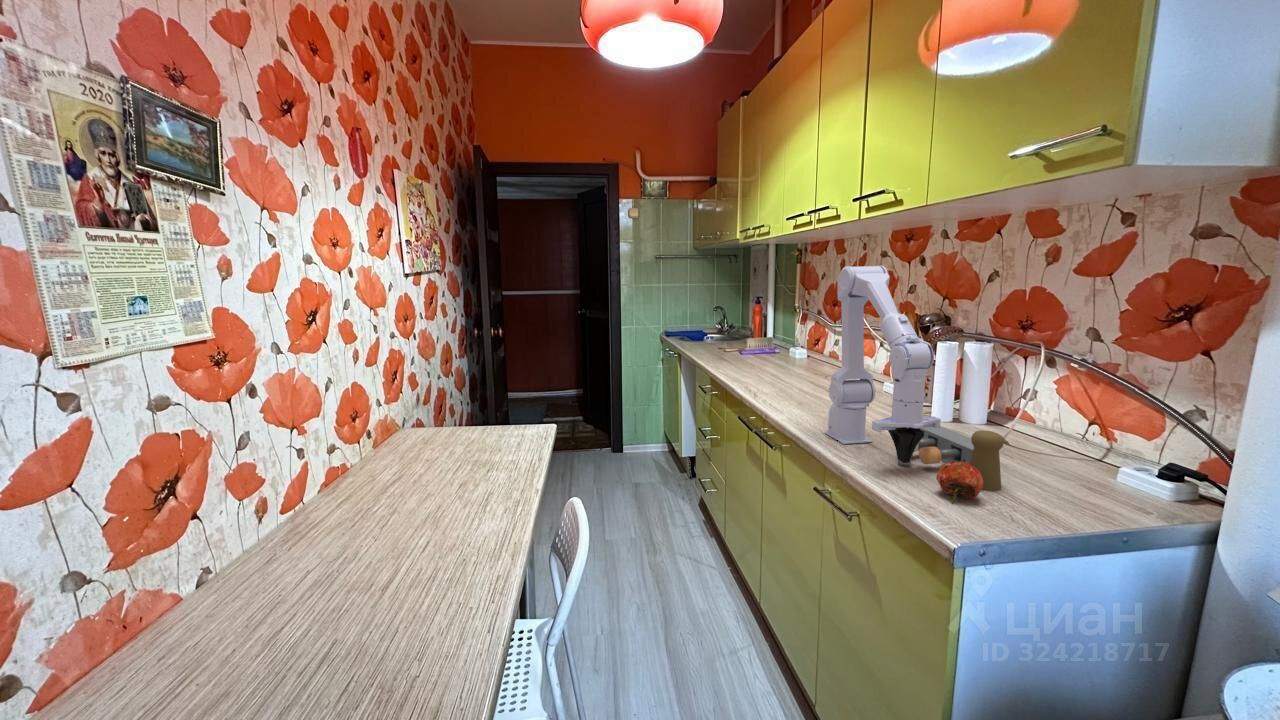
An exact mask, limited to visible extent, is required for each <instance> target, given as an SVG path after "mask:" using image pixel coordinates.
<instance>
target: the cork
mask: <svg viewBox="0 0 1280 720" xmlns="http://www.w3.org/2000/svg"><path fill="white" fill-rule="evenodd" d="M970 438H971V441H972V444H973V446H974V449H973V452H972V456H971V460H970V465H971V466H973V467H975V468H976V469H978V470H979V472H980V473H981V475H982V478H983V488H982V490H981V491H986V492H998V491H1001V489H1002V478H1001V477H1002V475H1001V461H1000V460H1001V459H1000V450H1001V449H1003V446H1004V443H1005V440H1004V437H1002V434H999V432H995V431H990V430H982V429H981V430H976V431H974V433H972V436H971V437H970Z"/></svg>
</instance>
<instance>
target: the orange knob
mask: <svg viewBox="0 0 1280 720" xmlns="http://www.w3.org/2000/svg"><path fill="white" fill-rule="evenodd" d="M961 455H962V449H961V448H958V449H945V450H939V449H938V448H937V447H923V448H921V449H920V450H918V457H919V460H920V462H921V463H922V464H923V465H934V464H935V465H936V464H937V465H938V464H940V463H941V462H942V461H941V459H951V458H961Z"/></svg>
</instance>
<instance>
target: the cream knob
mask: <svg viewBox="0 0 1280 720" xmlns="http://www.w3.org/2000/svg"><path fill="white" fill-rule="evenodd" d="M937 443H938V439H937V438H932V439H921V440H920V441H919V443H918V444H917V446H916V448H915V450H914V452H913V453H916V452H917V451H919V450H918V448H923V447H937Z"/></svg>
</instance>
